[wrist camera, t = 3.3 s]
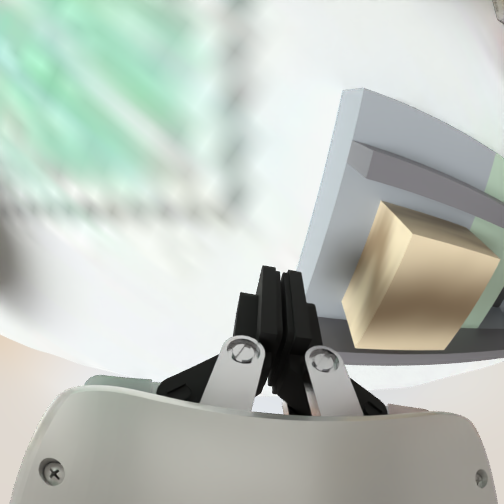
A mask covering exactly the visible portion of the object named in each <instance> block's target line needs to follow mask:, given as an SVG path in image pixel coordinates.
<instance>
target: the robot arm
mask: <svg viewBox="0 0 504 504" xmlns="http://www.w3.org/2000/svg"><path fill="white" fill-rule="evenodd" d="M267 378H268V386H272V394H277V395H278V396H279V397H280V398H281V399H283V402H282V407H283V413H284V414H272V413H261V412H252V411H251V410H252V406H253V402H254V398H255V397H256V396H257V395H259V394H260V393H261V392H262V389H263V387H264V385H265V383H266V380H267ZM10 504H498V502H497V496H496V491H495V486H494V481H493V477H492V472H491V469H490V465H489V461H488V458H487V455H486V452H485V449H484V446H483V443H482V440H481V438H480V436H479V434H478V432H477V430H476V428H475V427H474V425H473V423H472V422H471V421H470V420H469V419H467V418H465V417H463V416H461V415H457V414H454V413H449V412H435V411H428V410H426V409H421V408H413V407H405V406H399V405H393V404H388V405H387V406H385V405H384V404H383V403H382V402H381V401H380V400H379V399H378V398H376V397H375V396H373V395H372V394H371V393H370V392H368V391H367V390H365V389H364V388H363V387H361V386H360V385H359V384H357V383H356V382H355V381H353V380H352V379H351V378H350V377H349V375H348V372H347V370H346V367H345V365H344V362H343V360H342V358H341V356H340V355H339V354H338V353H337V352H336V351H335V350H333V349H332V348H329V347H326V346H323V343H322V337H321V332H320V326H319V321H318V316H317V311H316V306H315V304H312V303H307V302H306V296H305V290H304V284H303V278H302V273H301V272H299V271H293V270H288V272H287V273H285V272H283V274H282V277H281V281H280V272H279V271H276V268H275V267H269V266H262V270H261V274H260V278H259V283H258V287H257V292H256V295H254V294H248V293H242V292H240V297H239V302H238V308H237V313H236V319H235V326H234V332H233V337H231V338H229V339H228V340H226V341H225V343H224V344H223V346H222V349H221V351H220V354H219V355H216V356H214V357H212V358H210V359H208V360H206V361H204V362H202V363H200V364H198V365H196V366H194V367H192V368H189V369H187V370H185V371H183V372H181V373H179V374H176V375H174V376H172V377H170V378H167V379H166V380H164V381H163V382H161V383H157V382H152V380H151V379H137V378H125V377H115V376H105V375H96V376H93V377H91V378H89V379H88V380H87V381H86V383H85V385H84V386H78V387H73V388H70V389H67V390H65V391H63V392H62V393H60V394H59V395H58V396H57V397H56V398H55V399H54V400H53V402H52V403H51V404H50V406H49V407H48V409H47V410H46V412H45V413H44V415H43V417H42V419H41V420H40V422H39V424H38V426H37V428H36V430H35V432H34V434H33V437H32V439H31V441H30V444H29V446H28V448H27V451H26V453H25V455H24V458H23V461H22V464H21V467H20V470H19V472H18V475H17V478H16V482H15V485H14V488H13V492H12V497H11V500H10Z"/></svg>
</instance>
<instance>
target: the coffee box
mask: <svg viewBox="0 0 504 504" xmlns="http://www.w3.org/2000/svg"><path fill="white" fill-rule="evenodd" d="M493 4H494V7H495V11H496V15H497V19H498V20H499V21H501V22H503V23H504V0H493Z"/></svg>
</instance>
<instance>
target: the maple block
mask: <svg viewBox="0 0 504 504" xmlns="http://www.w3.org/2000/svg"><path fill="white" fill-rule="evenodd" d="M500 260H501V259H500V258H499V257H498V256H497V255H496V254H495V253H493V252H492V251H491V250H490V249H489V248H488V247H487V246H486V245H485V244H484V243H483V242H482V241H481V240H480V239H478V238H477V237H476V236H475V235H474V234H473V233H472V232H471V231H469V230H468V229H467V228H466V227H463V226H461V225H458V224H455V223H452V222H449V221H446V220H443V219H440V218H437V217H434V216H431V215H428V214H425V213H422V212H418V211H415V210H412V209H408V208H405V207H402V206H398V205H395V204H391V203H388V202H384V201H380V204H379V207H378V210H377V213H376V216H375V219H374V222H373V225H372V227H371V230H370V233H369V236H368V238H367V241H366V244H365V246H364V249H363V251H362V254H361V256H360V259H359V261H358V264H357V266H356V269H355V271H354V274H353V276H352V279H351V281H350V283H349V286H348V288H347V290H346V293H345V295H344V297H343V299H342V305H343V308H344V312H345V315H346V318H347V322H348V325H349V329H350V332H351V336H352V339H353V343H354V346H355V348H360V349H382V350H444V349H445V348H446V347H447V346H448V344H449V343H450V341H451V340H452V339H453V337H454V336H455V335H456V333H457V332H458V330H459V329H460V327H461V326H462V325H463V323H464V322H465V320H466V319H467V317H468V316H469V314H470V313H471V311H472V309H473V308H474V306H475V305H476V303H477V301H478V300H479V298H480V296H481V295H482V293H483V291H484V290H485V288H486V286H487V284H488V282H489V281H490V279H491V277H492V275H493V273H494V271H495V269H496V268H497V266H498V264H499V262H500Z"/></svg>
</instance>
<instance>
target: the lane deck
mask: <svg viewBox="0 0 504 504" xmlns="http://www.w3.org/2000/svg"><path fill="white" fill-rule="evenodd" d="M380 201H384V202H388V203H391V204H395V205H398V206H402V207H405V208H408V209H412V210H415V211H418V212H422V213H425V214H428V215H431V216H434V217H437V218H440V219H443V220H446V221H449V222H452V223H455V224H458V225H461V226H463V227H466V228H467V229H468V230H469V231H471V232H472V233H473V234H474V235H475V236H476V237H477V238H478V239H480V240H481V241H482V242H483V243H484V244H485V245H486V246H487V247H488V248H489V249H490V250H491V251H492V252H493V253H495V254H496V255H497V256H498V257H499V258H500V259H501V260H500V262H499V264H498V266H497V268H496V269H495V271H494V273H493V275H492V277H491V279H490V281H489V282H488V284H487V286H486V288H485V290H484V291H483V293H482V295H481V296H480V298H479V300H478V301H477V303H476V305H475V306H474V308H473V309H472V311H471V313H470V314H469V316H468V317H467V319H466V320H465V322H464V323H463V325H462V326H461V327H460V329H459V330H458V332H457V333H456V335H455V336H454V337H453V339H452V340H451V341H450V343H449V344H448V346H447V347H446V348H445V349H444V350H382V349H360V348H355V346H354V343H353V339H352V336H351V332H350V329H349V325H348V322H347V318H346V315H345V312H344V308H343V305H342V299H343V297H344V295H345V293H346V290H347V288H348V286H349V283H350V281H351V279H352V276H353V274H354V271H355V269H356V266H357V264H358V261H359V259H360V256H361V254H362V251H363V249H364V246H365V244H366V241H367V238H368V236H369V233H370V230H371V227H372V225H373V222H374V219H375V216H376V213H377V210H378V207H379V204H380ZM297 271H299V272H301V273H302V278H303V284H304V290H305V296H306V302H307V303H312V304H315V306H316V311H317V316H318V321H319V326H320V332H321V337H322V343H323V346H326V347H329V348H332V349H333V350H335V351H336V352H337V353H338V354H339V355H340V356H341V358H342V360H343V362H344V364H345V365H381V366H397V365H432V364H449V363H462V362H472V361H481V360H490V359H497V358H504V158H503V157H501V156H500V155H499V154H497V153H496V152H494V151H493V150H491V149H489V148H488V147H486V146H485V145H483V144H482V143H480V142H478V141H477V140H475V139H473V138H472V137H470V136H468V135H467V134H465V133H463V132H461V131H460V130H458V129H456V128H454V127H452V126H450V125H449V124H447V123H445V122H443V121H441V120H439V119H437V118H435V117H433V116H431V115H429V114H427V113H425V112H422V111H420V110H418V109H416V108H414V107H411V106H409V105H407V104H404V103H402V102H400V101H397V100H395V99H392V98H390V97H387V96H384V95H382V94H379V93H376V92H374V91H371V90H368V89H365V88H360V89H350V90H343V92H342V97H341V101H340V106H339V111H338V115H337V120H336V124H335V128H334V133H333V137H332V141H331V145H330V150H329V154H328V158H327V162H326V166H325V170H324V174H323V178H322V182H321V185H320V189H319V193H318V197H317V201H316V204H315V208H314V212H313V215H312V219H311V222H310V226H309V230H308V233H307V237H306V240H305V244H304V247H303V250H302V254H301V257H300V261H299V264H298V267H297Z"/></svg>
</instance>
